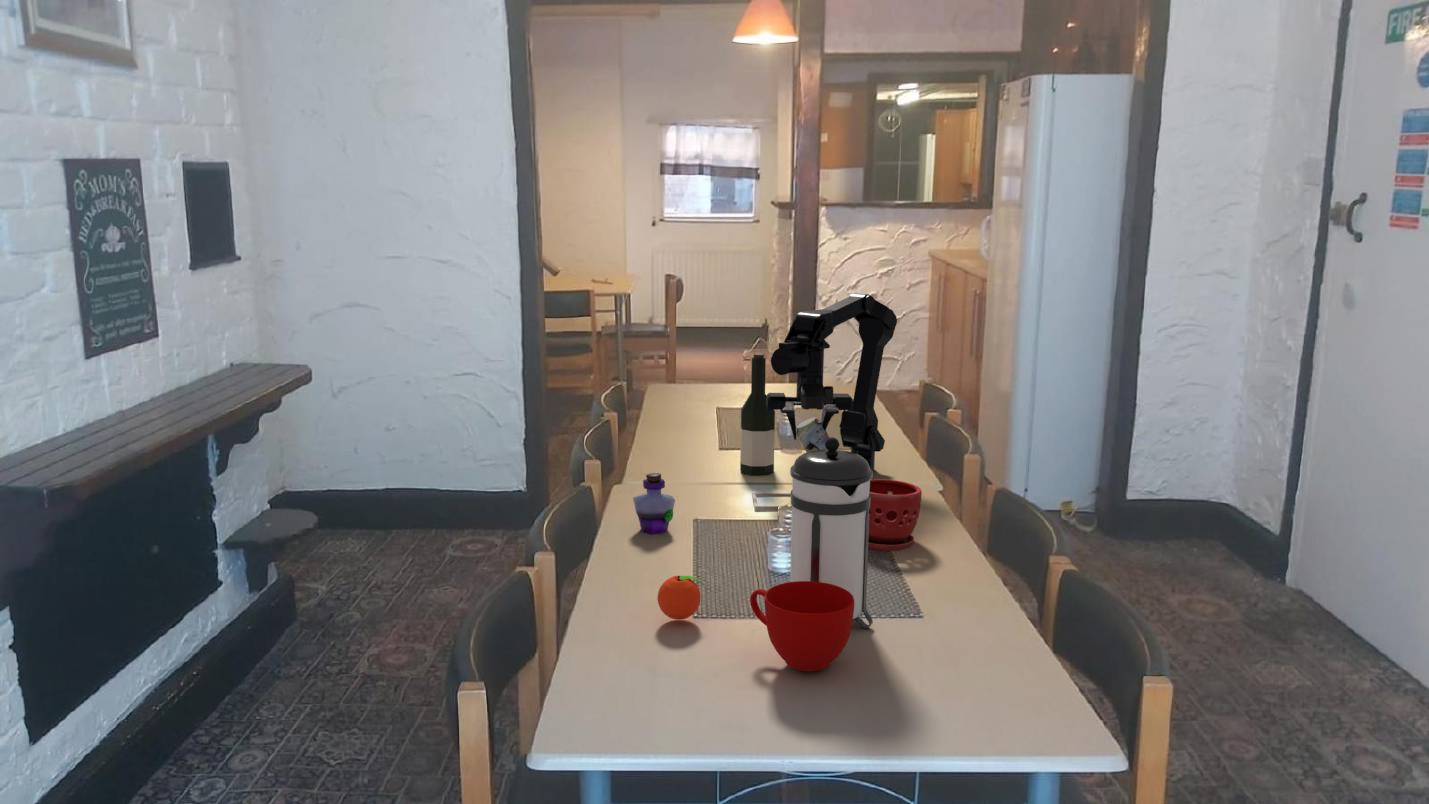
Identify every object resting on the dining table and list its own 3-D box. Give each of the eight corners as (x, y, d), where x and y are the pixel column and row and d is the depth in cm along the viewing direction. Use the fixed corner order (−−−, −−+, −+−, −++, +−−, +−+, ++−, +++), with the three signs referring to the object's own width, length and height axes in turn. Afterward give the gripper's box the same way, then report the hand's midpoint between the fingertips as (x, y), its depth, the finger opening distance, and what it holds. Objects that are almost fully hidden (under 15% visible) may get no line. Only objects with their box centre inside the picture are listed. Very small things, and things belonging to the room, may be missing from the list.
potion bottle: (670, 540, 212) (670, 480, 209) (628, 537, 213) (627, 478, 211) (679, 526, 220) (679, 469, 218) (637, 524, 221) (637, 467, 219)
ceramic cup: (776, 629, 169) (777, 568, 167) (869, 659, 159) (871, 595, 157) (724, 656, 160) (724, 592, 158) (819, 690, 149) (821, 621, 147)
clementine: (698, 606, 178) (698, 565, 177) (713, 622, 172) (713, 579, 171) (651, 613, 176) (651, 571, 174) (665, 629, 169) (665, 586, 168)
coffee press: (890, 611, 177) (897, 432, 171) (851, 646, 163) (857, 453, 158) (795, 591, 186) (799, 420, 180) (750, 622, 172) (753, 438, 166)
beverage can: (842, 468, 237) (825, 418, 234) (810, 478, 239) (792, 428, 236) (842, 459, 243) (825, 410, 240) (811, 468, 245) (794, 420, 242)
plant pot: (913, 560, 202) (916, 498, 199) (844, 551, 206) (846, 491, 203) (923, 538, 214) (926, 480, 211) (858, 531, 218) (859, 474, 216)
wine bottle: (733, 476, 258) (734, 352, 252) (764, 473, 262) (766, 350, 256) (749, 485, 251) (750, 357, 245) (780, 481, 254) (783, 355, 248)
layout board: (750, 500, 239) (750, 492, 238) (899, 501, 239) (899, 492, 239) (753, 517, 227) (753, 507, 226) (909, 517, 228) (910, 508, 227)
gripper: (770, 375, 228) (768, 447, 231) (858, 376, 228) (855, 448, 231) (766, 367, 239) (764, 436, 242) (850, 368, 239) (848, 437, 242)
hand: (808, 439), depth 239 cm, fingers closed on beverage can, 5 cm apart
